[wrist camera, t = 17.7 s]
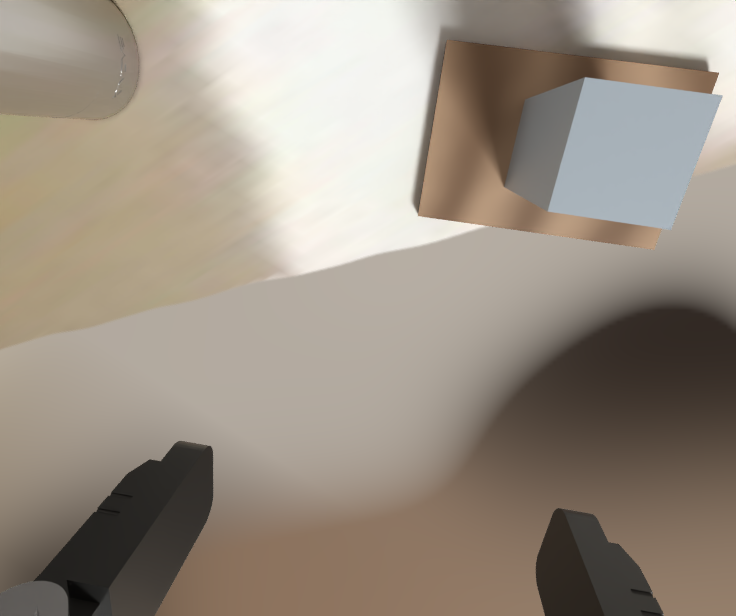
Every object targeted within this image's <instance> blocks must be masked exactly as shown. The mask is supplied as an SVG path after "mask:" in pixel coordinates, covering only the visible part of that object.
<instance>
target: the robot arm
mask: <svg viewBox="0 0 736 616" xmlns="http://www.w3.org/2000/svg"><path fill="white" fill-rule="evenodd" d="M138 76H139V56H138V50H137V44H136V42H135V39H134V36H133V33H132V30H131V28H130V26H129V25H128V23H127V21H126V19H125V17H124V16H123V15H122V13H121V12H120V11H119V9H118V8H117V7H116V6H115V4H114V3H112V2H111V1H110V0H0V114H5V115H22V116H39V117H53V118H70V119H87V120H98V119H105V118H108V117H110V116H113V115H115V114H117V113H118V112H119V111H120V110H122V109H123V108H124V107H125V106H126V105H127V103H128V102H129V101H130V99H131V98H132V96H133V94H134V91H135V89H136V87H137V82H138ZM212 501H213V450H212V448H211V446H207V445H201V444H196V443H190V442H184V441H178V442H177V443H175V444H174V445H173V447H172V448H171V449H170V451H169V452H168V453H167V454H166V456H165V457H164V458H163V459H162V461H155V460H148V461H147V462H145V463H143V464H142V465H140V466H139V467H137V468H136V469H134V470H133V471H131V472H129V473H128V474H127V475H126V476H125V477H124V478H123V479H122V481H121V482H120V483H119V484H118V485H117V486H116V487H115V489H114V490H113V491H112V493H111V495H110V496H108V497H107V498H106V499H105V500H104V501H103V502H102V504H101V505H100V506H99V507H98V510H97V512H94V513H93V514H92V515H91V516H90V517H89V519H88V520H87V521H86V522H85V523H84V524H83V526H82V527H81V528H80V529H79V530H78V531H77V532H76V534H75V535H74V536H73V537H72V538H71V539H70V541H69V542H68V543H67V544H66V545H65V546H64V547H63V549H62V550H61V551H60V552H59V553H58V554H57V555H56V557H55V558H54V559H53V560H52V561H51V562H50V563H49V565H48V566H47V567H46V568H45V569H44V570H43V572H42V573H41V574H40V575H39V576H38V577H37V578H36V579H35V580H34V581H33V582H27V583H24V584H20V585H17V586H15V587H12V588H10V589H8V590H6V591H4V592H2V593H0V616H155V614H156V612H157V610H158V608H159V607H160V605H161V603H162V601H163V599H164V598H165V596H166V594H167V592H168V590H169V589H170V587H171V585H172V583H173V581H174V580H175V578H176V576H177V574H178V572H179V571H180V568H181V567H182V565H183V563H184V561H185V560H186V558H187V556H188V554H189V552H190V551H191V549H192V547H193V545H194V543H195V542H196V540H197V538H198V536H199V534H200V533H201V531H202V529H203V527H204V525H205V523H206V521H207V519H208V516H209V513H210V510H211V506H212ZM536 581H537V586H538V591H539V595H540V598H541V602H542V605H543V609H544V613H545V616H664V614H663V612H662V610H661V608H660V606H659V604H658V602H657V600H656V598H653V595H652V594H653V592H652V590H651V589H650V586H649V585H648V583H647V581H646V579H645V577H644V575H643V573H642V571H641V569H640V567H639V566H638V565H637V564H636V563H635V562H634V561H633V560H632V558H631V557H630V556H629V555H628V554H627V553H626V552H625V551H624V549H623V548H622V547H621V546H620V545H619V544H615V543H609V542H608V541H607V538H606V536H605V534H604V532H603V530H602V528H601V526H600V524H599V522H598V520H597V518H596V517H595V516H594V515H593V514H589V513H583V512H577V511H572V510H566V509H560V508H558V509H556V510H555V511H554V513H553V515H552V518H551V520H550V523H549V526H548V529H547V531H546V534H545V537H544V539H543V542H542V545H541V548H540V550H539V553H538V556H537V562H536Z"/></svg>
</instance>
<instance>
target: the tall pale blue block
mask: <svg viewBox="0 0 736 616" xmlns="http://www.w3.org/2000/svg"><path fill="white" fill-rule="evenodd" d="M721 99H722V95H714V94H707V93H699V92H692V91H684V90H677V89H669V88H662V87H654V86H647V85H640V84H632V83H625V82H617V81H610V80H602V79H595V78H587V77H584V78H582V79H579V80H576V81H573V82H571V83H568V84H565V85H563V86H560V87H557V88H555V89H552V90H549V91H546V92H544V93H541V94H538V95H536V96H533V97H530V98H528V99H525V102H524V106H523V110H522V114H521V119H520V123H519V127H518V131H517V135H516V140H515V144H514V148H513V152H512V156H511V161H510V165H509V169H508V173H507V177H506V181H505V186H504V187H505V188H506V189H508V190H510V191H512V192H514V193H515V194H517V195H519V196H521V197H523V198H524V199H526V200H528V201H530V202H532V203H533V204H535V205H537V206H539V207H540V208H542V209H544V210H546V211H548V212H554V213H561V214H568V215H574V216H581V217H588V218H594V219H601V220H608V221H615V222H621V223H628V224H635V225H641V226H648V227H655V228H661V229H668V230H671V228H672V226H673V223H674V220H675V218H676V215H677V213H678V210H679V208H680V205H681V202H682V200H683V197H684V195H685V192H686V189H687V187H688V184H689V181H690V179H691V176H692V174H693V171H694V169H695V166H696V163H697V161H698V158H699V156H700V153H701V151H702V148H703V145H704V143H705V140H706V138H707V135H708V132H709V130H710V127H711V125H712V122H713V119H714V117H715V114H716V112H717V109H718V106H719V104H720V101H721Z"/></svg>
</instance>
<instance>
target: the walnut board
mask: <svg viewBox="0 0 736 616" xmlns="http://www.w3.org/2000/svg"><path fill="white" fill-rule="evenodd" d="M718 75H719V73H716V72H708V71H700V70H692V69H683V68H675V67H667V66H659V65H650V64H642V63H634V62H626V61H617V60H609V59H601V58H593V57H584V56H576V55H568V54H560V53H552V52H543V51H535V50H527V49H519V48H510V47H502V46H494V45H486V44H477V43H469V42H461V41H453V40H447V42H446V47H445V53H444V59H443V65H442V71H441V77H440V84H439V90H438V96H437V102H436V108H435V114H434V120H433V126H432V132H431V138H430V144H429V150H428V157H427V163H426V169H425V175H424V181H423V187H422V193H421V199H420V205H419V211H418V216H422V217H429V218H436V219H443V220H450V221H457V222H464V223H471V224H478V225H485V226H492V227H499V228H506V229H513V230H520V231H527V232H534V233H541V234H548V235H555V236H562V237H569V238H576V239H583V240H591V241H597V242H605V243H611V244H619V245H625V246H632V247H640V248H646V249H653V250H654V249H655V246H656V243H657V240H658V238H659V235H660V232H661V230H662V229H661V228H655V227H648V226H641V225H635V224H628V223H621V222H615V221H608V220H601V219H594V218H588V217H581V216H574V215H568V214H561V213H554V212H548V211H546V210H544V209H542V208H540V207H539V206H537V205H535V204H533V203H532V202H530V201H528V200H526V199H524V198H523V197H521V196H519V195H517V194H515V193H514V192H512V191H510V190H508V189H506V188H505V187H504V186H505V181H506V177H507V173H508V169H509V165H510V161H511V156H512V152H513V148H514V144H515V140H516V135H517V131H518V127H519V123H520V119H521V114H522V110H523V106H524V102H525V99H528V98H530V97H533V96H536V95H538V94H541V93H544V92H546V91H549V90H552V89H555V88H557V87H560V86H563V85H565V84H568V83H571V82H573V81H576V80H579V79H582V78H584V77H587V78H595V79H602V80H610V81H617V82H625V83H632V84H640V85H647V86H654V87H662V88H669V89H677V90H684V91H692V92H699V93H707V94H712V91H713V88H714V86H715V83H716V80H717V77H718Z"/></svg>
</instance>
